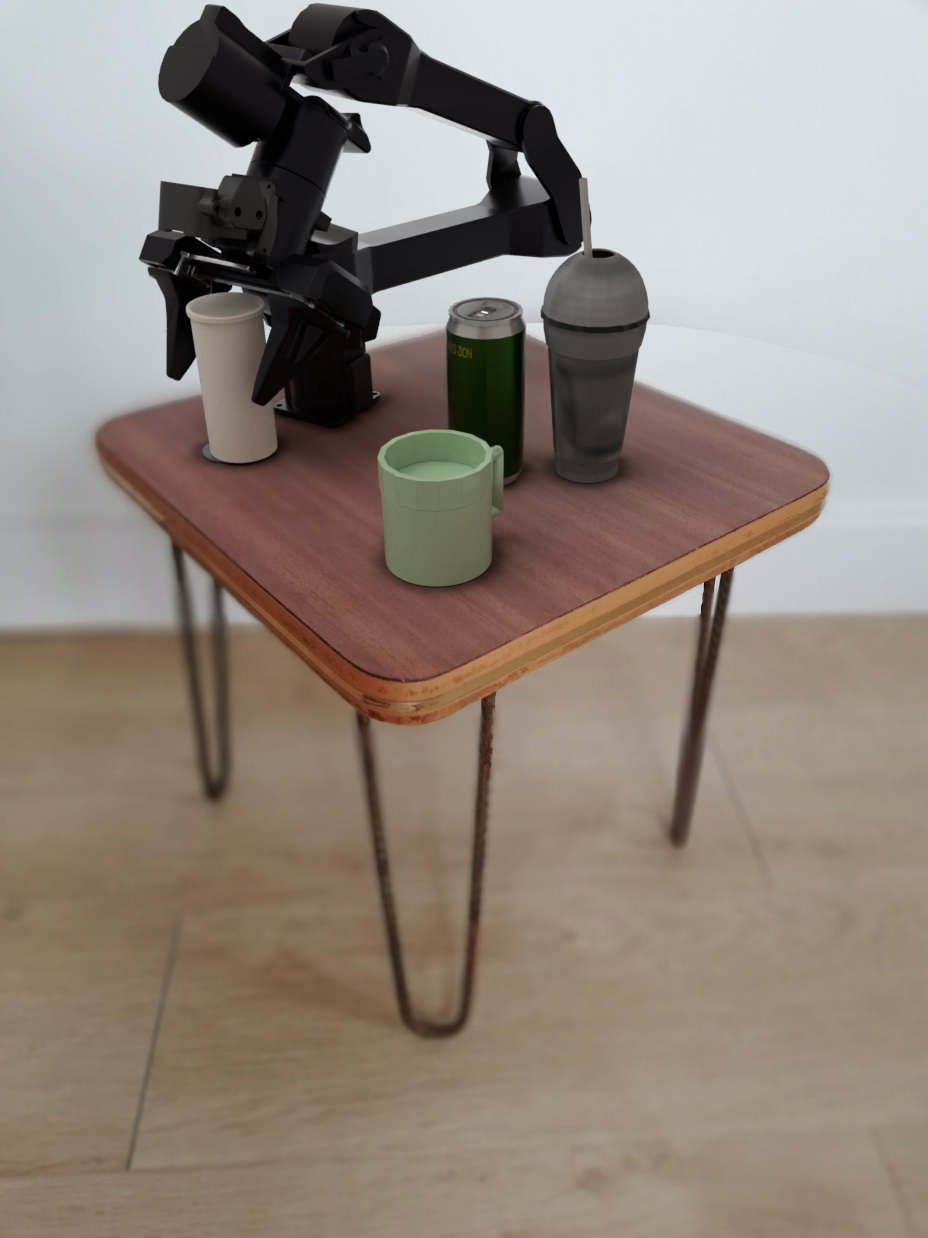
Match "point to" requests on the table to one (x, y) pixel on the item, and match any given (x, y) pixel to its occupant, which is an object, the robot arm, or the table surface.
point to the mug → (439, 505)
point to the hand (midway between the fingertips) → (213, 390)
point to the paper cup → (232, 374)
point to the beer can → (488, 375)
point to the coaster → (210, 455)
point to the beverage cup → (592, 354)
